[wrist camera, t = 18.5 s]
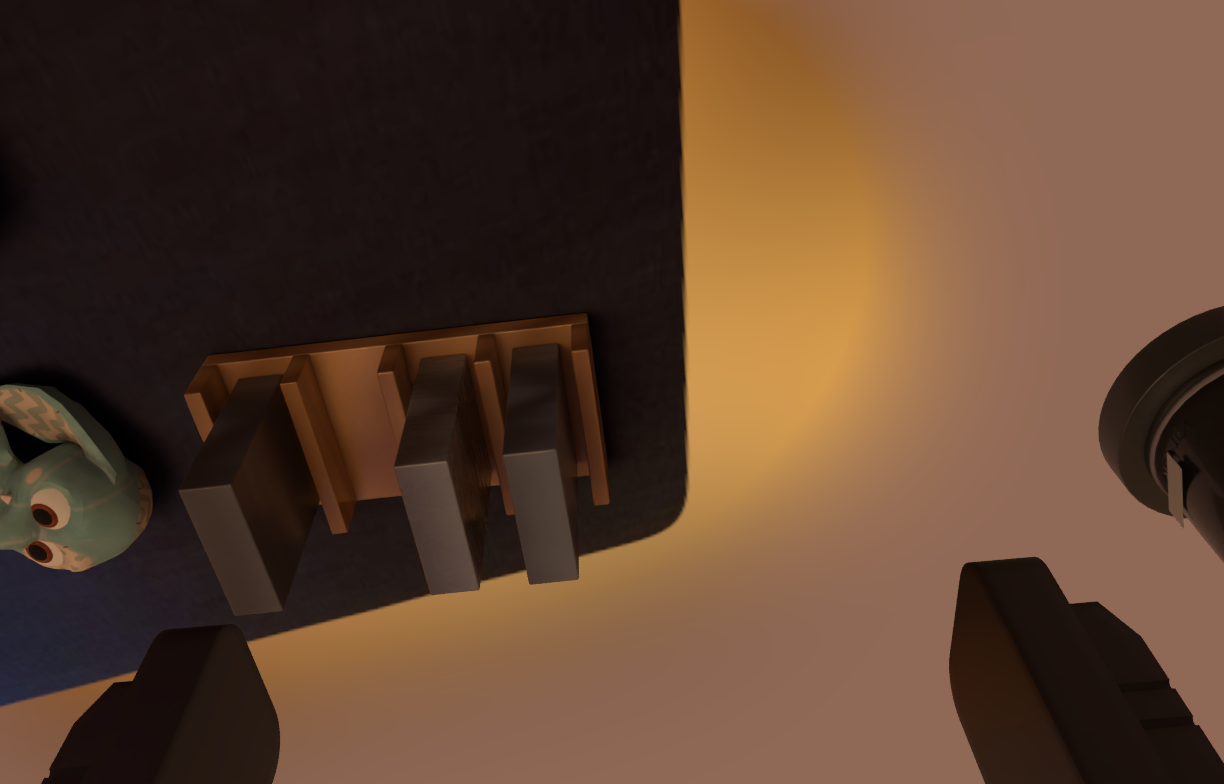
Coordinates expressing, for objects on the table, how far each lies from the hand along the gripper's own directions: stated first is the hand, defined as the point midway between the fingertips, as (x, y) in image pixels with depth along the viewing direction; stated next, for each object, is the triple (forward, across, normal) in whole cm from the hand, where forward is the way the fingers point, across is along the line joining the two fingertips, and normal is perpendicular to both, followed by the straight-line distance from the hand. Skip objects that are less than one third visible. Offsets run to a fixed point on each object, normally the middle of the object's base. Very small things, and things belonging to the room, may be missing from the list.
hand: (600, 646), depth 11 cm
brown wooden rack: (+33, +11, +18) cm, 39 cm away
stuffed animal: (+33, +30, +18) cm, 48 cm away
